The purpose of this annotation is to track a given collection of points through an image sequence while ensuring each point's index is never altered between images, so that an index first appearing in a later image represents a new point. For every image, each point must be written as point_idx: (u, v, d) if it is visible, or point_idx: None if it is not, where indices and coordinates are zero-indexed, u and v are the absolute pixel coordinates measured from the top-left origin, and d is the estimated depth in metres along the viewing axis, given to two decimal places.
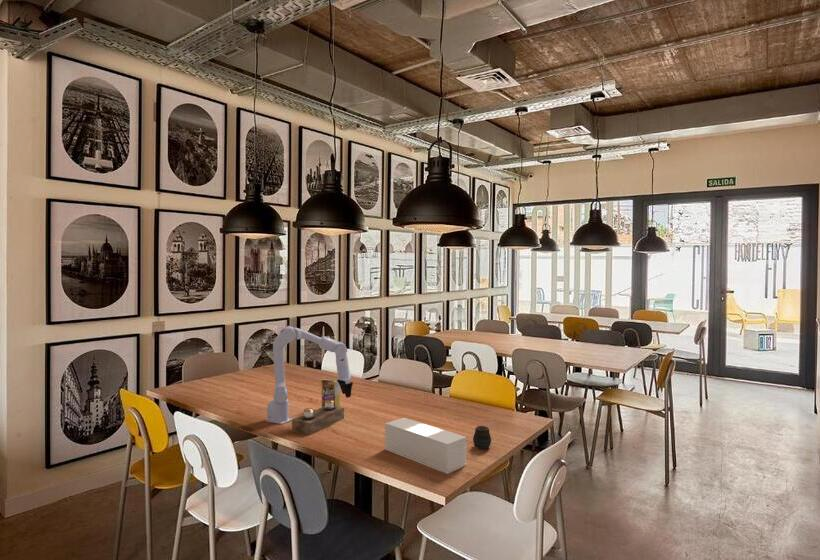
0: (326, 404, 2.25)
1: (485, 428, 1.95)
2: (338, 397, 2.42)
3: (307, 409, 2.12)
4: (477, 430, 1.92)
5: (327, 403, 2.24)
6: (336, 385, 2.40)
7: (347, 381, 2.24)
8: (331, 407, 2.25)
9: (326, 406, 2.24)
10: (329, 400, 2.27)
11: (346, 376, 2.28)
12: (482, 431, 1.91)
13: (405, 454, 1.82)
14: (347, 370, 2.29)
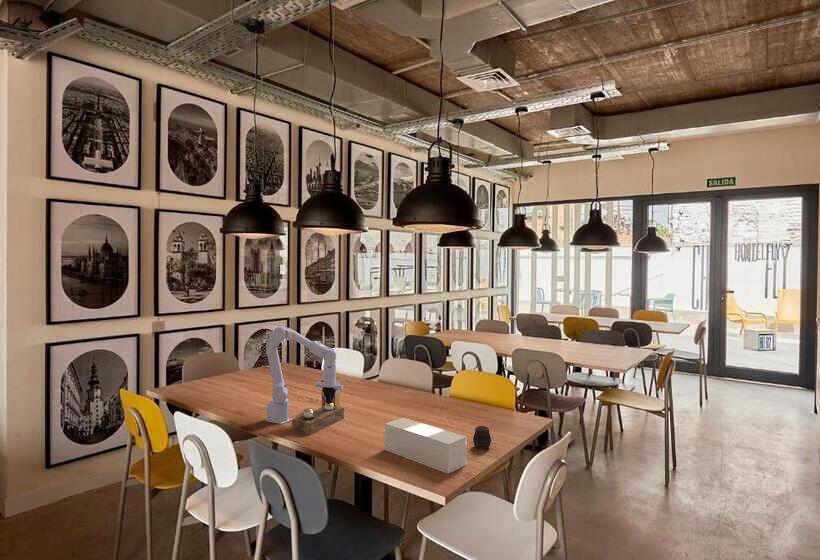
0: (326, 407, 2.25)
1: (485, 428, 1.95)
2: (338, 397, 2.42)
3: (307, 409, 2.12)
4: (477, 430, 1.92)
5: (327, 406, 2.24)
6: None
7: (342, 387, 2.23)
8: (331, 410, 2.25)
9: (326, 409, 2.24)
10: None
11: (335, 383, 2.25)
12: (482, 431, 1.91)
13: (405, 454, 1.82)
14: (335, 377, 2.26)
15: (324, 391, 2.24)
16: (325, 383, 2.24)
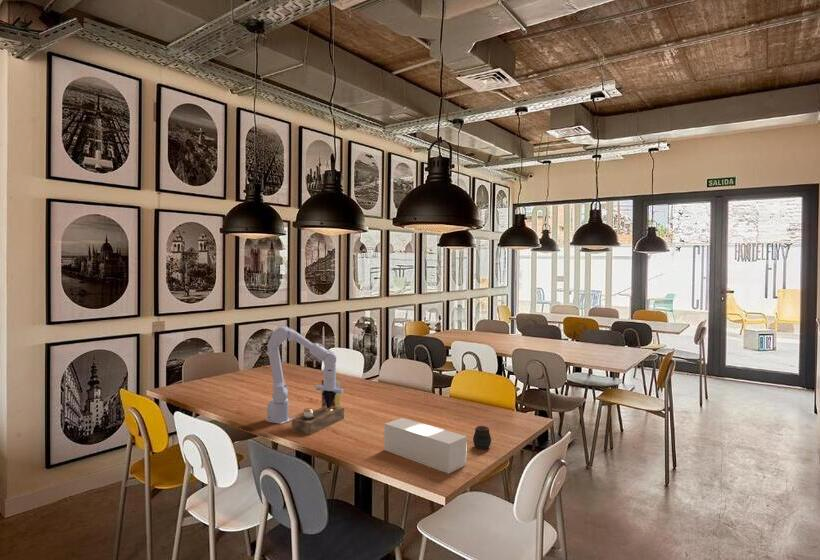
0: None
1: (485, 428, 1.95)
2: (338, 397, 2.42)
3: (307, 409, 2.12)
4: (477, 430, 1.92)
5: None
6: (336, 385, 2.40)
7: (342, 391, 2.23)
8: None
9: None
10: (329, 409, 2.27)
11: (335, 386, 2.25)
12: (482, 431, 1.91)
13: (405, 454, 1.82)
14: (335, 380, 2.26)
15: (324, 394, 2.24)
16: (325, 386, 2.24)
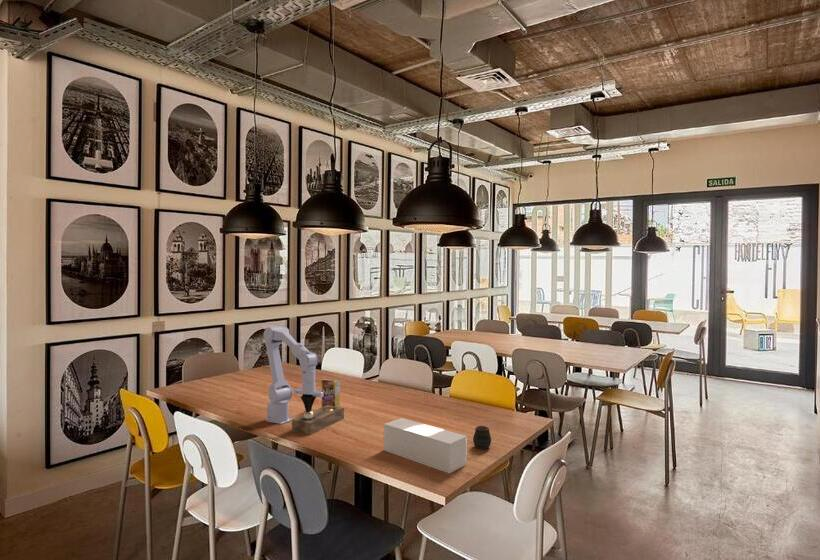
0: None
1: (485, 428, 1.95)
2: (338, 397, 2.42)
3: None
4: (477, 430, 1.92)
5: None
6: (336, 385, 2.40)
7: (322, 394, 2.08)
8: None
9: None
10: (329, 409, 2.27)
11: (314, 390, 2.11)
12: (482, 431, 1.91)
13: (405, 454, 1.82)
14: None
15: (303, 398, 2.10)
16: (304, 390, 2.09)
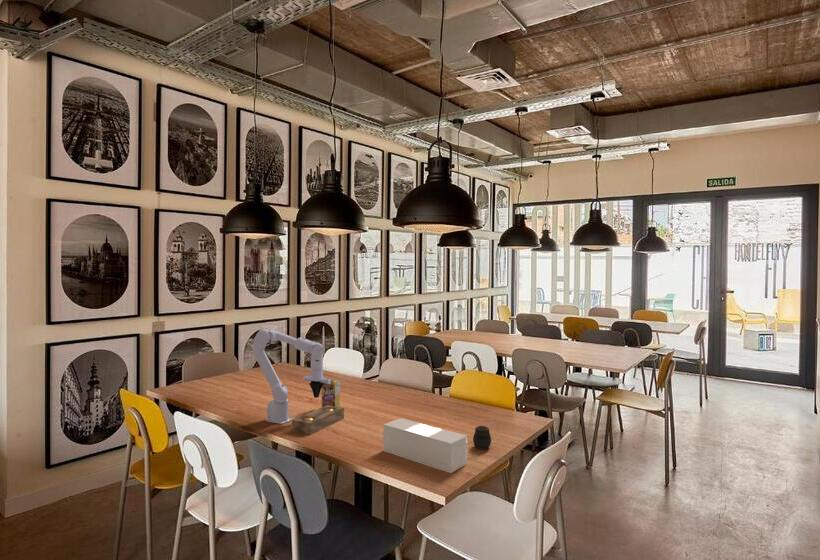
0: None
1: (485, 428, 1.95)
2: (338, 397, 2.42)
3: (307, 418, 2.12)
4: (477, 430, 1.92)
5: None
6: (336, 385, 2.40)
7: (329, 381, 2.24)
8: None
9: None
10: (329, 409, 2.27)
11: (322, 377, 2.26)
12: (482, 431, 1.91)
13: (405, 455, 1.81)
14: (322, 371, 2.27)
15: (311, 385, 2.25)
16: (312, 377, 2.24)
